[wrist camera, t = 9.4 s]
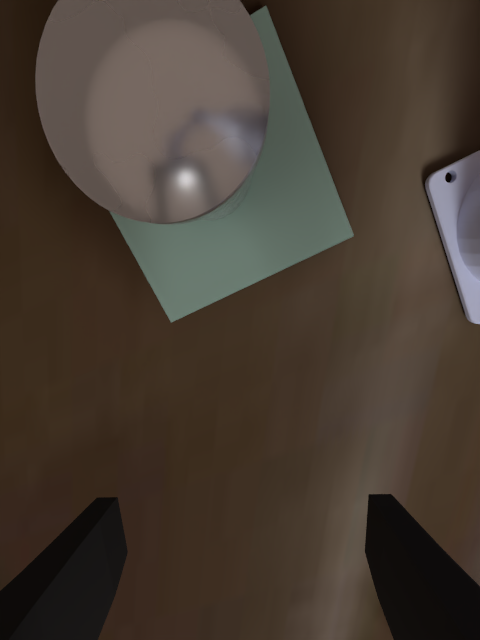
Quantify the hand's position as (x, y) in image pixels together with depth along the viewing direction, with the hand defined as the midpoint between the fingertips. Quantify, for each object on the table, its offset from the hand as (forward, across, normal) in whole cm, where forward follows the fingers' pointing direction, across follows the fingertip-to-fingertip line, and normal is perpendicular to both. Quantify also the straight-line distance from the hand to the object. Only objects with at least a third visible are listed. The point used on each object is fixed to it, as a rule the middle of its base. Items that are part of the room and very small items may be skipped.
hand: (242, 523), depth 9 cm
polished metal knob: (+8, +1, -11) cm, 14 cm away
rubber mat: (+9, +1, -10) cm, 14 cm away
